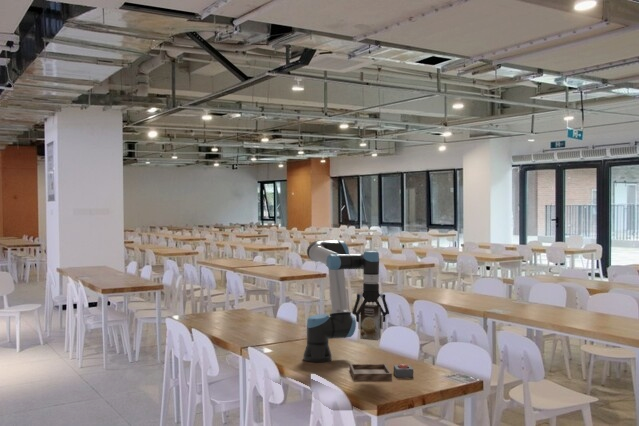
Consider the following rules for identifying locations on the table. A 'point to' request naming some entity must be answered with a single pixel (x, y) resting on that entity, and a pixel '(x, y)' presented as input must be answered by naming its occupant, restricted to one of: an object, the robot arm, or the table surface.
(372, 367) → the wooden tray
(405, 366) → the button
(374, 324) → the coffee box
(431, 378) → the table surface
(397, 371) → the button housing
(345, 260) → the robot arm
